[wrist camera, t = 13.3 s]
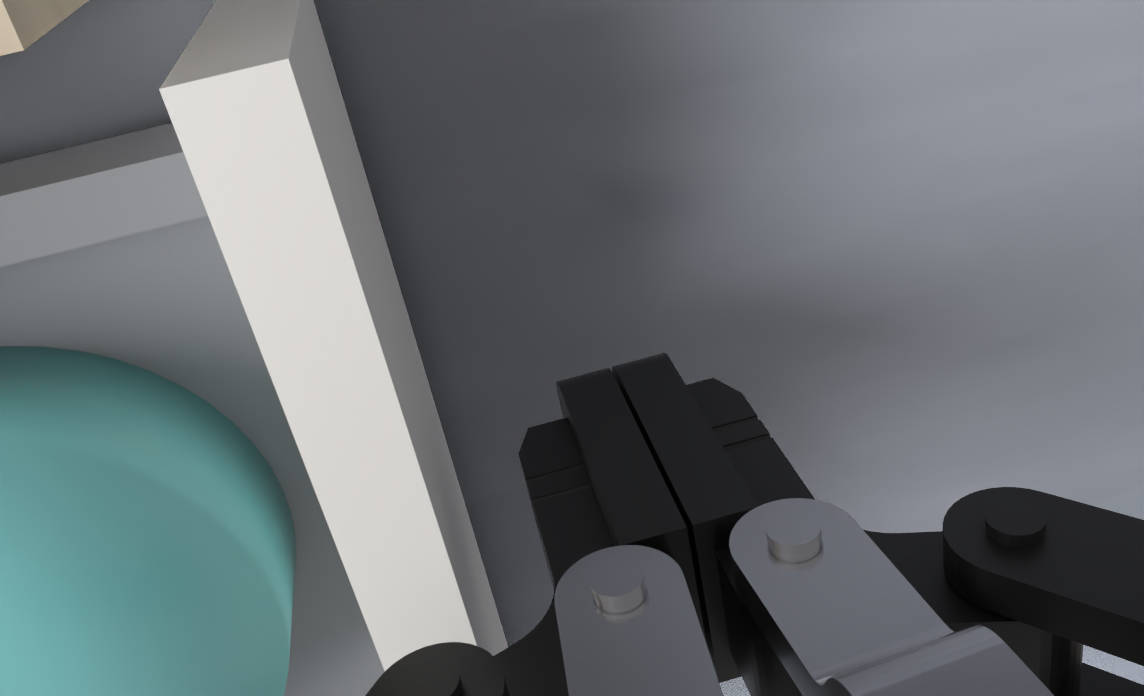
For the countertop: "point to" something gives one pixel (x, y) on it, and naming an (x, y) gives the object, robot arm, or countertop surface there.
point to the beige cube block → (30, 21)
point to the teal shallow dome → (135, 537)
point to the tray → (266, 326)
